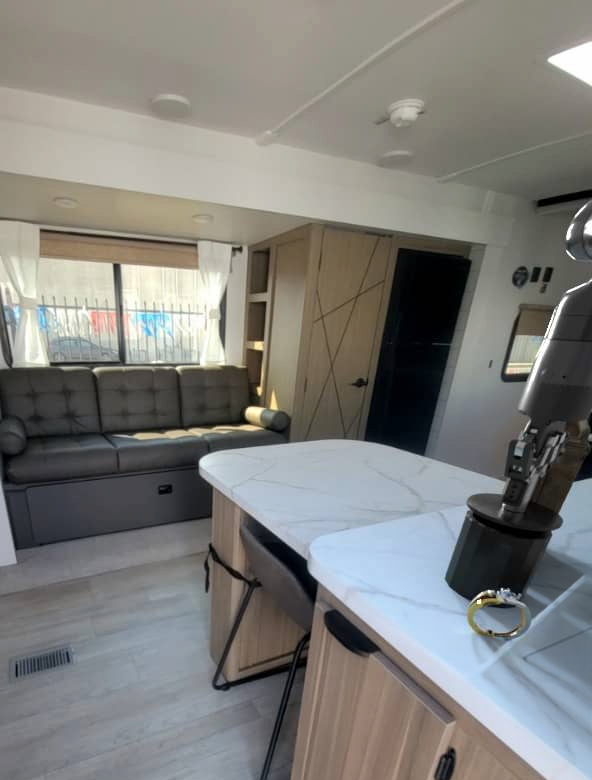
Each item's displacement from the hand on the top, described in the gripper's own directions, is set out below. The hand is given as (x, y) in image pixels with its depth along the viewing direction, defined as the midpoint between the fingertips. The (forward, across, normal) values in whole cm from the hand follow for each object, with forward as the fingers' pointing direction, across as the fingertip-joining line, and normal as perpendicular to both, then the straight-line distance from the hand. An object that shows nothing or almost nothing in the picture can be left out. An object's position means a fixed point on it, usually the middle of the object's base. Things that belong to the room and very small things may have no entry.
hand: (516, 501), depth 59 cm
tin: (+16, 0, 0) cm, 16 cm away
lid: (+2, 0, 0) cm, 2 cm away
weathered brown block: (+16, +18, +3) cm, 24 cm away
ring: (+16, -11, -6) cm, 20 cm away
